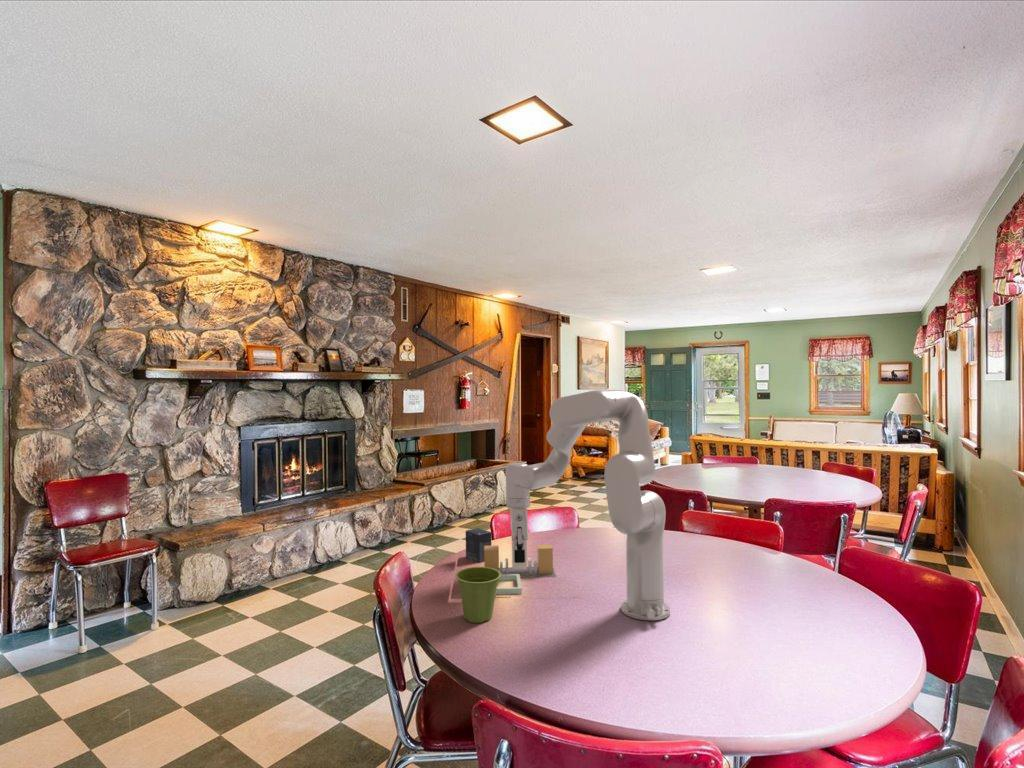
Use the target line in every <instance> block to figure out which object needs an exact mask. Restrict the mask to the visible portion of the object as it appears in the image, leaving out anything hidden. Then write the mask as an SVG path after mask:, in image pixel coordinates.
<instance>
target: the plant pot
mask: <svg viewBox="0 0 1024 768" xmlns="http://www.w3.org/2000/svg"><path fill="white" fill-rule="evenodd" d="M500 577H501V573H500V571H498V570H496V569H493V568H489V567H484V566H472V567H466V568H462V569H459V570H458V571H457V572H456V573H455V579H457V583H458V588H459V591H460V598H461V603H462V605H461V606H462V611H463V618H464V619H465V620H467V621H468V622H470V623H475V624H479V623H484V622H485V621H488V622H489V621H490V620H491V619H492V617H493V612H494V606H495V600H496V598H495V597H496V595H497V594H496V589H497V588H498V586H499V578H500Z"/></svg>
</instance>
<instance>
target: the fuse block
mask: <svg viewBox="0 0 1024 768" xmlns="http://www.w3.org/2000/svg"><path fill="white" fill-rule="evenodd" d="M499 547H500V546H499V545H491V546H484V562H483V563H484V566H483V567H489V568H493V569H496V570H498V571H500V573H501V574H520V579H529V578H530V579H533V578H557V575H556V572H555V569H554V565H553V564H554V561H553V559H554V556H553V555H554V553H553V551H554V549H553V546H552V544H549V543H548V544H544V543H543V544H537V545H536V554H537V555H536V558H537V559H536V560H533V566H532V558H531V557H527V569H513V568H512V566H511V567H510V566H509V558H505V567H504V566H503V565H504V564H503V561H500V555H499V554H500V551H499Z"/></svg>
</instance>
